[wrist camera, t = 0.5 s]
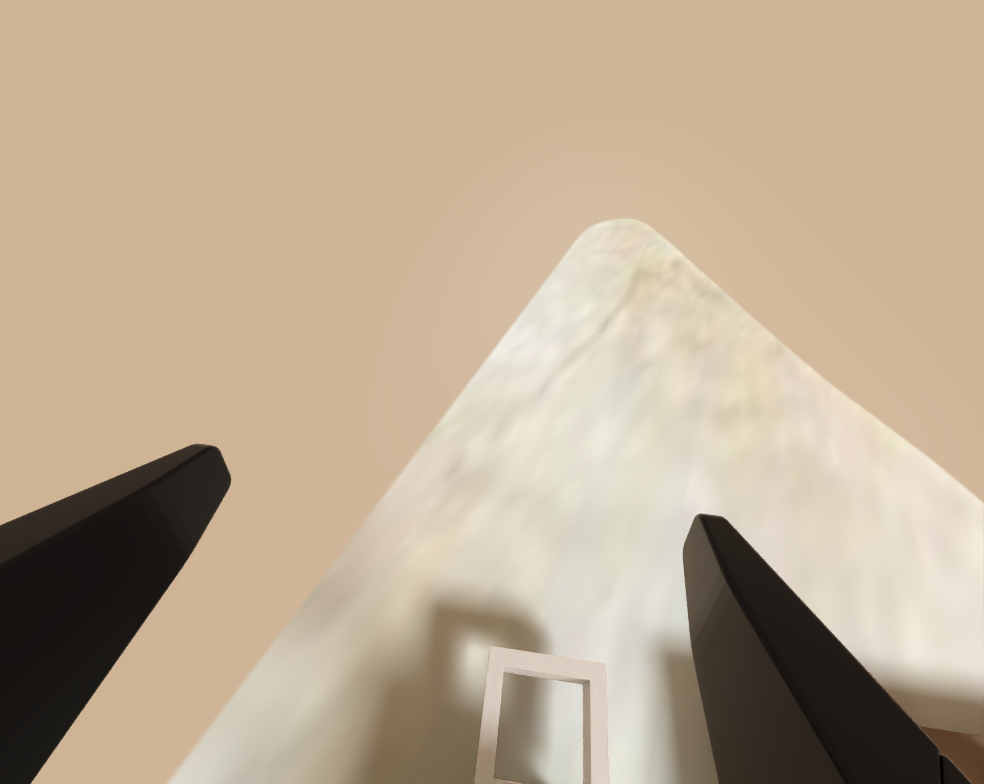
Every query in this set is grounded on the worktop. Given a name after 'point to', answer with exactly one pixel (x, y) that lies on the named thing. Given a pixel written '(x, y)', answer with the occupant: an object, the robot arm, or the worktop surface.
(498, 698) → the light grey piece
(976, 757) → the brown open rectangular box
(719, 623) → the robot arm
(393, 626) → the worktop surface
